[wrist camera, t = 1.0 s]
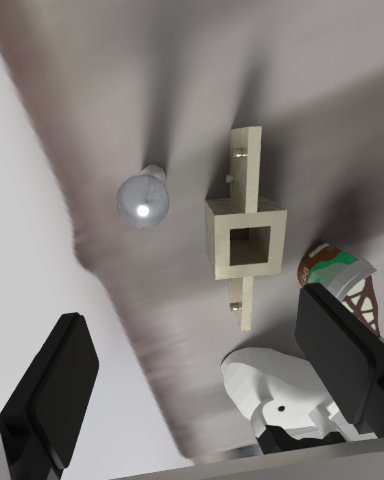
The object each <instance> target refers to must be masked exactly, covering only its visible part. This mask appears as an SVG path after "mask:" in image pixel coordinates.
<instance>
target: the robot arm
mask: <svg viewBox="0 0 384 480" xmlns="http://www.w3.org/2000/svg"><path fill="white" fill-rule="evenodd" d="M295 337H296V341H297V343H298V345H299V346H300V348H301V349H302V351H303V352H304V354H305V356H306V357H307V359H308V360H309V362H310V364H311V365H312V367H313V368H314V370H315V372H316V373H317V375H318V376H319V378H320V379H321V381H322V383H323V384H324V386H325V387H326V389H327V391H328V392H329V394H330V395H331V397H332V399H333V400H334V402H335V403H336V405H337V407H338V408H339V410H340V411H341V413H342V414H343V416H344V418H345V419H346V421H347V422H348V423H349V424H353V425H354V427H355V428H356V430H357V431H358V433H359V434H365V433H372V432H374V433H375V434H376V436H377V437H378V438H377V439H370V440H362V441H353V442H346V443H339V444H332V445H326V446H319V447H312V448H306V449H299V450H293V451H286V452H280V453H273V454H266V455H260V456H254V457H247V458H241V459H235V460H228V461H222V462H216V463H209V464H203V465H197V466H190V467H184V468H178V469H172V470H166V471H159V472H153V473H147V474H142V475H135V476H130V477H123V478H117V479H111V480H384V343H383V342H382V341H381V340H380V339H379V338H378V337H377V336H376V335H375V334H374V333H372V332H371V331H370V330H369V329H368V328H367V327H366V326H365V325H364V324H363V323H362V322H361V321H360V320H359V319H358V318H357V317H356V316H355V315H354V314H353V313H351V312H350V311H349V310H348V309H347V308H346V307H345V306H344V305H343V304H342V303H341V302H340V301H339V300H338V299H337V298H336V297H335V296H334V295H333V294H332V293H330V292H329V291H328V290H327V289H326V288H325V287H324V286H323V285H322V284H321V283H319V282H315V283H307V284H305V285H304V287H303V288H301V289H300V295H299V304H298V313H297V322H296V331H295ZM98 369H99V360H98V357H97V354H96V351H95V348H94V345H93V342H92V339H91V336H90V333H89V330H88V327H87V324H86V321H85V318H84V316H83V315H80V314H79V313H77V312H75V313H68V314H62V315H61V317H60V318H59V320H58V322H57V323H56V325H55V326H54V328H53V330H52V331H51V333H50V335H49V337H48V338H47V340H46V341H45V343H44V344H43V346H42V348H41V350H40V351H39V352H38V354H37V355H36V356H35V358H34V359H33V361H32V363H31V364H30V366H29V368H28V369H27V371H26V372H25V374H24V376H23V377H22V379H21V380H20V382H19V384H18V385H17V387H16V389H15V390H14V392H13V393H12V395H11V397H10V398H9V400H8V402H7V403H6V405H5V406H4V408H3V410H2V411H1V413H0V480H60V479H61V476H62V473H63V470H64V469H65V468H67V467H68V466H69V464H70V461H71V458H72V455H73V452H74V448H75V445H76V442H77V438H78V435H79V432H80V429H81V425H82V422H83V419H84V416H85V413H86V409H87V406H88V403H89V399H90V396H91V393H92V389H93V386H94V383H95V380H96V376H97V373H98Z"/></svg>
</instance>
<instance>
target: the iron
mask: <svg viewBox="0 0 384 480" xmlns="http://www.w3.org/2000/svg"><path fill="white" fill-rule="evenodd" d="M221 369H222V372H223V373H224V385H225V388H226V390H227V393H228V394H229V396H230V397H231V398H232V400H233V401H234V403H235V404H236V405H237V407H238V408H239V410H240V411H241V413H242V414H243V416H244V417H246V418H247V419H249V420H250V421H251V426H252V429H253V431H254V433H255V435H256V439H257V441H258V444H259V446H260V448H261V450H262V452H263V454H264V455H266V454H273V453H280V452H286V451H293V450H299V449H306V448H312V447H319V446H326V445H332V444H339V443H346V442H353V441H352V440H351V439H349V438H348V437H347V436H346V434H345V433H344V432H343V431H342V430H341V429H340V428H339V427H338V426H337V424H336V423H335V422H334V421H330V419H331V418H332V417H333V416H334V415H335V414H336V413H337V412H338V411H339V408H338V407H337V405H336V403H335V402H334V400H333V399H332V397H331V395H330V394H329V392H328V391H327V389H326V387H325V386H324V384H323V383H322V381H321V379H320V378H319V376H318V375H317V373H316V372H315V370H314V368H313V367H312V365H311V364H310V362H309V361H306V360H304V359H301V358H297V357H294V356H290V355H286V354H283V353H281V352H278V351H275V350H273V349H270V348H256V347H247V348H243V349H240V350H237V351H234V352H232V353H231V354H230V355H228V357H227V358H226V359H225V360H224V362H223V363H222V365H221ZM307 426H314V427H317V428H318V430H319V431H320V432H321V434H322V435H323V437H324V438H323V439H317V438H302V439H300V440H296V439H294V438H292V437H291V436H289V435H288V434H287V433H286V431H285V430H284V429H288V428H301V427H307Z"/></svg>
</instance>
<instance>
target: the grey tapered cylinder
mask: <svg viewBox="0 0 384 480" xmlns="http://www.w3.org/2000/svg"><path fill="white" fill-rule="evenodd" d="M165 184H166V174H165V172H164V170H163V169H162V168H161V167H160V166H158V165H148V166H146V167H145V168H144V169H143V170H142V171H141V172H140V174H139V175H136V176H133V177H131V178H129V179H127V180H126V181H125V182H124V183H123V184H122V185H121V187H120V188H119V190H118V192H117V196H116V205H117V209H118V212H119V213H120V215H121V216H122V218H123V219H124V220H125V221H126V222H128V223H129V224H131V225H133V226H136V227H140V228H148V227H152V226H155V225H157V224H159V223H160V222H161V221H162V220H163V219H164V218H165V217H166V215H167V213H168V210H169V195H168V192H167V189H166V188H165Z"/></svg>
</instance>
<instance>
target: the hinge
mask: <svg viewBox="0 0 384 480" xmlns="http://www.w3.org/2000/svg"><path fill="white" fill-rule="evenodd" d="M261 131H262V126H255V127H244V128H238V129H232V130H230V175H225V183H226V184H230V198H221V199H208V200H205V216H206V248H207V255H208V258H209V261H210V265H211V268H212V271H213V274H214V277H215V280H218V279H229V300H230V310H231V311H234V313H235V316H236V318H237V321H238V324H239V326H240V329H241V331H246V330H250V329H251V311H252V293H253V276H261V275H271V274H281V264H282V255H283V246H284V236H285V227H286V218H287V210H286V209H285V208H283V207H281V206H280V205H278V204H276V203H275V202H273V201H271V200H270V199H268V198H266V197H265V196H258V185H259V167H260V149H261ZM238 228H249V239H243V240H231V241H230V229H238Z"/></svg>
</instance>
